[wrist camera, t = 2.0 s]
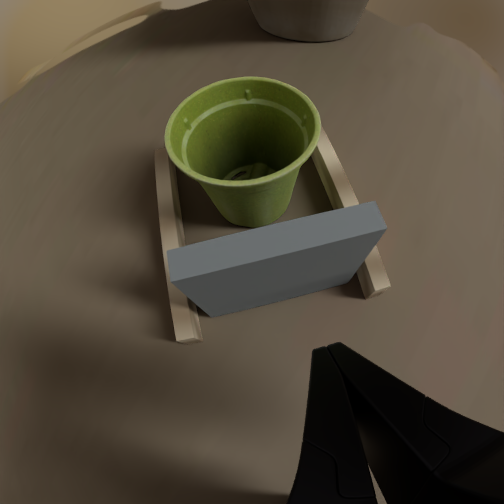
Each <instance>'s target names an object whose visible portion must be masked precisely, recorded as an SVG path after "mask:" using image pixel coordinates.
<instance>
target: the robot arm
mask: <svg viewBox="0 0 504 504" xmlns="http://www.w3.org/2000/svg"><path fill="white" fill-rule="evenodd" d="M368 465H369V467H370V469H371V471H372V473H373V475H374V477H375V479H376V482H377V484H378V486H379V488H380V490H381V492H382V494H383V496H384V498H385V500H386V502H387V504H504V432H501V431H499V430H496V429H494V428H491V427H489V426H486V425H484V424H481V423H479V422H477V421H474V420H472V419H470V418H467V417H465V416H463V415H461V414H459V413H456V412H454V411H452V410H450V409H448V408H447V407H445V406H443V405H441V404H439V403H438V402H436V401H434V400H433V399H431V398H429V397H426V398H425V395H424V394H423V393H421V392H419V391H418V390H416V389H414V388H413V387H411V386H409V385H408V384H406V383H405V382H403V381H401V380H400V379H398V378H397V377H395V376H393V375H392V374H390V373H389V372H387V371H385V370H384V369H382V368H381V367H379V366H377V365H376V364H374V363H373V362H371V361H369V360H368V359H366V358H365V357H363V356H362V355H360V354H358V353H357V352H355V351H354V350H352V349H351V348H349V347H347V346H346V345H344V344H343V343H341V342H337V343H333V344H330V345H328V346H327V347H325V346H323V347H320V348H316V349H313V351H312V359H311V370H310V381H309V391H308V400H307V409H306V417H305V426H304V433H303V442H302V447H301V454H300V459H299V464H298V469H297V473H296V476H295V480H294V483H293V487H292V490H291V492H290V495H289V498H288V501H287V503H286V504H378V503H377V499H376V494H375V490H374V486H373V482H372V478H371V475H370V471H369V467H368Z"/></svg>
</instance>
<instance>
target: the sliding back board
mask: <svg viewBox="0 0 504 504" xmlns="http://www.w3.org/2000/svg"><path fill="white" fill-rule="evenodd" d="M386 229H387V227H386V224H385V222H384V220H383V217H382V215H381V213H380V211H379V208H378V206H377V204H376V202H375V201H372V202H367V203H363V204H358V205H354V206H349V207H345V208H341V209H336V210H332V211H327V212H323V213H319V214H314V215H310V216H306V217H302V218H297V219H293V220H289V221H285V222H280V223H276V224H272V225H268V226H264V227H259V228H255V229H251V230H247V231H243V232H239V233H235V234H231V235H227V236H223V237H219V238H215V239H211V240H207V241H203V242H199V243H195V244H191V245H187V246H183V247H179V248H175V249H171V250H167V251H166V252H167V260H168V267H169V274H170V281H171V283H172V284H174V285H175V286H176V287H177V288H178V289H179V290H180V291H181V292H183V293H184V294H185V295H186V296H187V297H188V298H189V299H191V300H192V301H193V302H194V303H195V304H196V305H197V306H199V307H200V308H201V309H202V310H203V311H204V312H206V313H207V314H208V315H209V316H210V317H216V316H221V315H225V314H229V313H234V312H238V311H242V310H246V309H251V308H255V307H259V306H263V305H267V304H271V303H275V302H279V301H283V300H287V299H290V298H294V297H298V296H302V295H306V294H309V293H313V292H317V291H321V290H324V289H328V288H331V287H335V286H339V285H342V284H346V283H348V282H349V280H350V279H351V278H352V277H353V275H354V274H355V273H356V271H357V270H358V268H359V267H360V266H361V264H362V263H363V262H364V260H365V259H366V258H367V256H368V255H369V253H370V252H371V251H372V249H373V248H374V246H375V245H376V244H377V242H378V241H379V239H380V238H381V236H382V235H383V234H384V232H385V231H386Z"/></svg>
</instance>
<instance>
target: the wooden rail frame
mask: <svg viewBox="0 0 504 504" xmlns="http://www.w3.org/2000/svg"><path fill="white" fill-rule="evenodd" d="M154 157H155V173H156V187H157V200H158V211H159V221H160V231H161V240H162V249H163V257H164V265H165V272H166V279H167V286H168V293H169V300H170V306H171V312H172V318H173V324H174V330H175V336H176V341H178V342H181V343H184V344H187V345H188V344H193V343H198V342H202V341H203V338H202V333H201V328H200V323H199V318H198V313H197V308H196V304H195V303H194V302H193V301H192V300H191V299H189V298H188V297H187V296H186V295H185V294H184V293H183V292H181V291H180V290H179V289H178V288H177V287H176V286H175V285H174V284H172V283H171V281H170V274H169V267H168V260H167V252H166V251H167V250H171V249H175V248H179V247H183V246H186V243H185V236H184V229H183V223H182V215H181V208H180V201H179V193H178V185H177V177H176V168H175V164H174V163H173V162H172V160H171V159H170V157H169V155H168V153H167V150H166V147H164V148H161V149H158V150H155V151H154ZM311 157H312V160H313V162H314V164H315V167H316V169H317V171H318V174H319V176H320V178H321V181H322V183H323V185H324V188H325V190H326V193H327V195H328V198H329V200H330V203H331V205H332V208H333V210H336V209H341V208H345V207H349V206H354V205H358V204H359V203H358V200H357V198H356V196H355V194H354V191H353V189H352V187H351V185H350V182H349V180H348V178H347V176H346V174H345V172H344V170H343V167H342V165H341V163H340V161H339V159H338V157H337V155H336V153H335V151H334V149H333V147H332V145H331V143H330V141H329V139H328V137H327V135H326V133H325V131H324V129H323V127H322V126H321V131H320V137H319V141H318V143H317V146H316V148H315V150H314V151H313V153H312V154H311ZM356 273H357V276H358V279H359V282H360V285H361V288H362V291H363V294H364V297H365V299H369V298H372V297H375V296H378V295H380V294H381V293H383V292H384V291H385V290H386V289H388V288H389V287H390V286H391V285H390V282H389V279H388V276H387V274H386V271H385V268H384V265H383V262H382V260H381V257H380V254H379V252H378V249H377V247H376V245H375V246H374V248H373V249H372V251H371V252H370V253H369V255H368V256H367V258H366V259H365V260H364V262H363V263H362V264H361V266H360V267H359V268H358V270H357V271H356Z"/></svg>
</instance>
